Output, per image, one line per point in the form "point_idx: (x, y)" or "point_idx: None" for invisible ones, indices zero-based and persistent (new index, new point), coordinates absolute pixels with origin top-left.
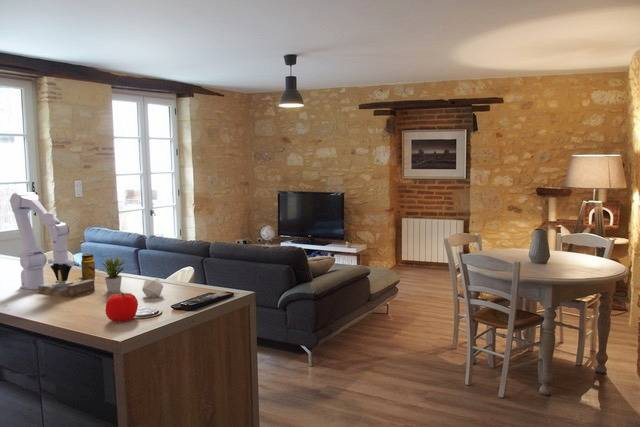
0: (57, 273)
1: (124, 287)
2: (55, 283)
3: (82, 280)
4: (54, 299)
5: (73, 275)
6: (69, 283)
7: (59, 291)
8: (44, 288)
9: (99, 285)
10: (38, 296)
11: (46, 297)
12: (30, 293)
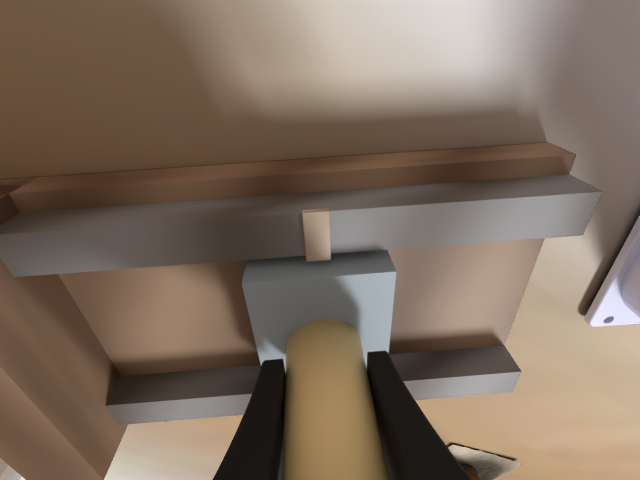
0: (400, 462)
1: None
2: (389, 309)
3: None
4: (7, 7)
5: (584, 476)
6: None
7: (182, 203)
8: (460, 188)
9: None
10: (377, 12)
11: (224, 30)
12: (603, 72)
